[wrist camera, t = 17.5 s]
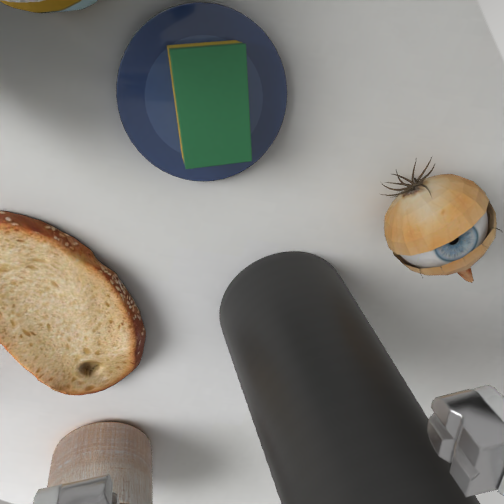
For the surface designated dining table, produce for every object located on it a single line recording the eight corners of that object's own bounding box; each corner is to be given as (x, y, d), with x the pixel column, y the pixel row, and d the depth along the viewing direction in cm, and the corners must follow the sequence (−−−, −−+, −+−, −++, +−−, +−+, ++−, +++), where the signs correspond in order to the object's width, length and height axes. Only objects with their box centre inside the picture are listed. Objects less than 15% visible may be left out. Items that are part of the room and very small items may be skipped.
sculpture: (472, 142, 32) (554, 288, 36) (432, 125, 41) (502, 245, 45) (362, 213, 35) (451, 341, 39) (346, 183, 43) (420, 291, 48)
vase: (337, 346, 51) (522, 664, 26) (222, 365, 48) (307, 737, 24) (349, 243, 44) (612, 543, 20) (215, 260, 42) (324, 627, 17)
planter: (118, 488, 55) (114, 573, 47) (34, 466, 50) (14, 556, 41) (170, 435, 52) (175, 515, 44) (87, 405, 47) (76, 489, 39)
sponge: (166, 45, 31) (169, 49, 28) (236, 39, 32) (246, 43, 29) (181, 155, 35) (185, 169, 32) (243, 148, 36) (252, 161, 33)
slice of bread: (-62, 197, 34) (-83, 218, 30) (170, 238, 39) (173, 259, 36) (-62, 371, 41) (-80, 402, 38) (133, 384, 47) (132, 411, 44)
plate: (98, 8, 30) (97, 8, 29) (281, -4, 32) (286, -4, 31) (135, 186, 36) (135, 191, 35) (284, 166, 39) (288, 171, 37)
